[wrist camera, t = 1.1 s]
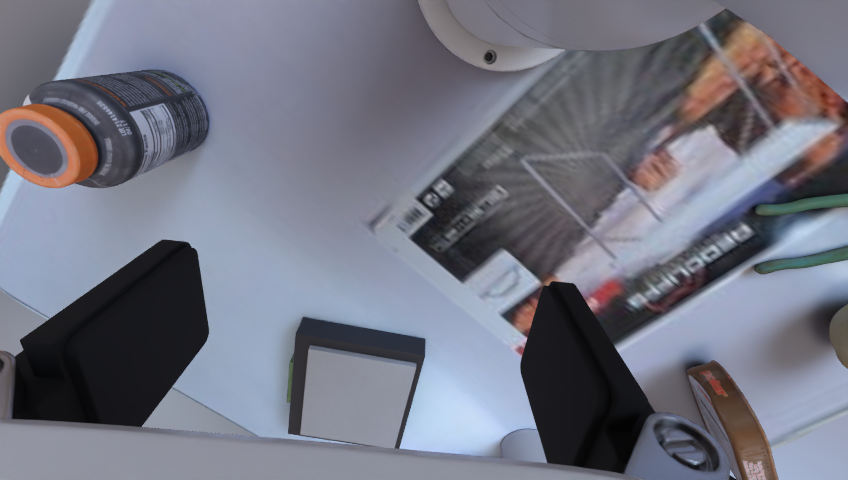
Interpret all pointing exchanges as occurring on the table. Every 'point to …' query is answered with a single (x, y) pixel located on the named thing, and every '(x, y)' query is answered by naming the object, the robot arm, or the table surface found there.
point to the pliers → (798, 206)
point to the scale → (352, 383)
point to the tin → (732, 422)
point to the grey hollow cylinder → (523, 446)
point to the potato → (840, 334)
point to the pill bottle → (102, 128)
